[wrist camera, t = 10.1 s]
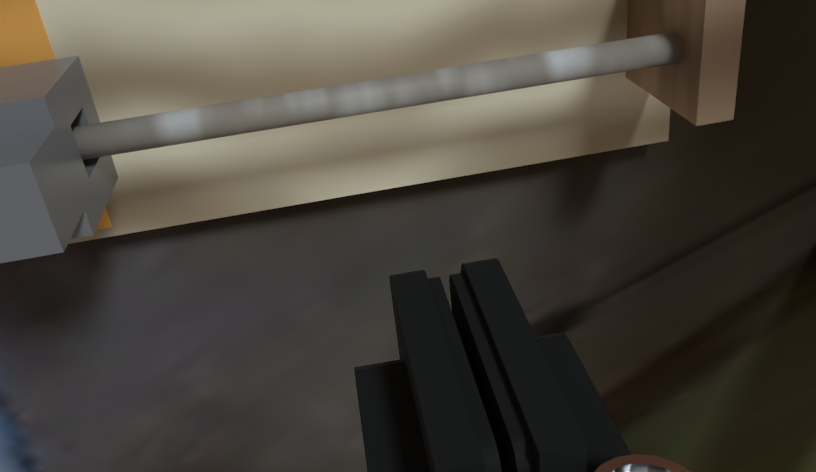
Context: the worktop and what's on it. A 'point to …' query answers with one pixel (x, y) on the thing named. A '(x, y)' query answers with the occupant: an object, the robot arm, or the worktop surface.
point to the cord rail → (366, 90)
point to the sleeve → (47, 160)
